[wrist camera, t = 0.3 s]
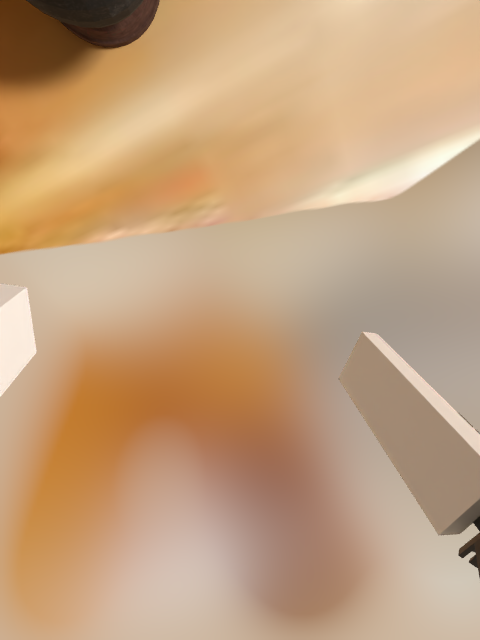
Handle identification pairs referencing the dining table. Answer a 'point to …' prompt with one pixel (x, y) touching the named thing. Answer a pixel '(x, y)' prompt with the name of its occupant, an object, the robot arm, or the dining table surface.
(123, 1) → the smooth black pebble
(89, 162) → the dining table surface
